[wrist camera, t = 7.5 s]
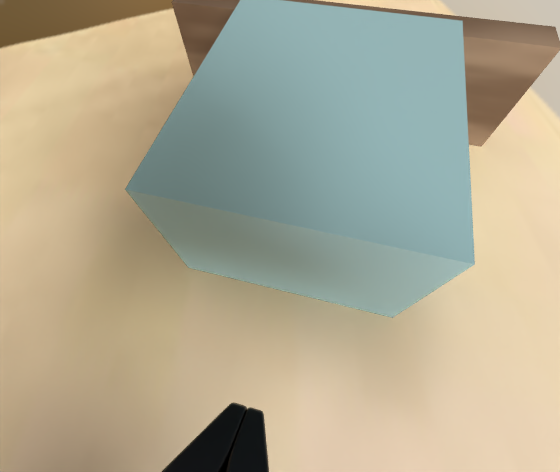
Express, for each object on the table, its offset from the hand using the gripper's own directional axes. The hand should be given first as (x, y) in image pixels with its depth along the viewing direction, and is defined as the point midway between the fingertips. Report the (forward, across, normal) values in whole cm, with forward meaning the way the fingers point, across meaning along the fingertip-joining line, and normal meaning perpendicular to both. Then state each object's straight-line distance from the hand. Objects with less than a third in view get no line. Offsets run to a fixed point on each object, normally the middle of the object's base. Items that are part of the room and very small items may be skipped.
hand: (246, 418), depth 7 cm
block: (+14, 0, -4) cm, 15 cm away
